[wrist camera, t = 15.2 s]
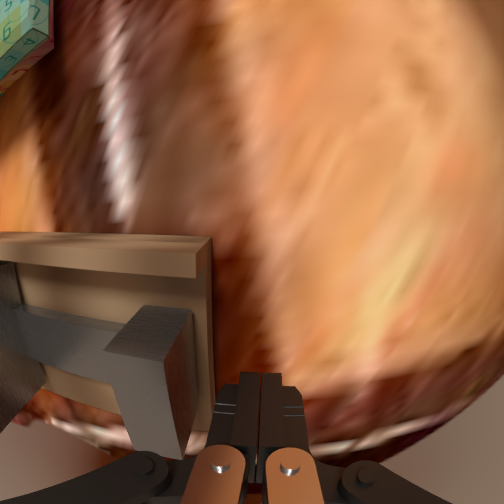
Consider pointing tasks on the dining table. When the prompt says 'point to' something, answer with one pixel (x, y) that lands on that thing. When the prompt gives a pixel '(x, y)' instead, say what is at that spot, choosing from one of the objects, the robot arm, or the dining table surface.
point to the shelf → (117, 294)
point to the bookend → (104, 363)
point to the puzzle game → (23, 37)
